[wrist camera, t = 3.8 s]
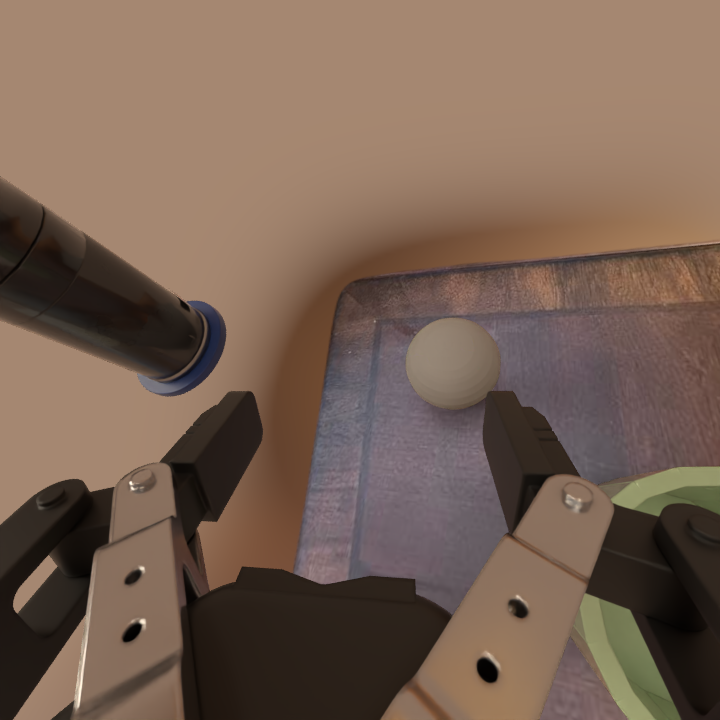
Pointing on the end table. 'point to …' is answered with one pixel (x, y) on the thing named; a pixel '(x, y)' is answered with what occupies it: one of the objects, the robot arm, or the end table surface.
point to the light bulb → (453, 363)
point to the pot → (615, 623)
